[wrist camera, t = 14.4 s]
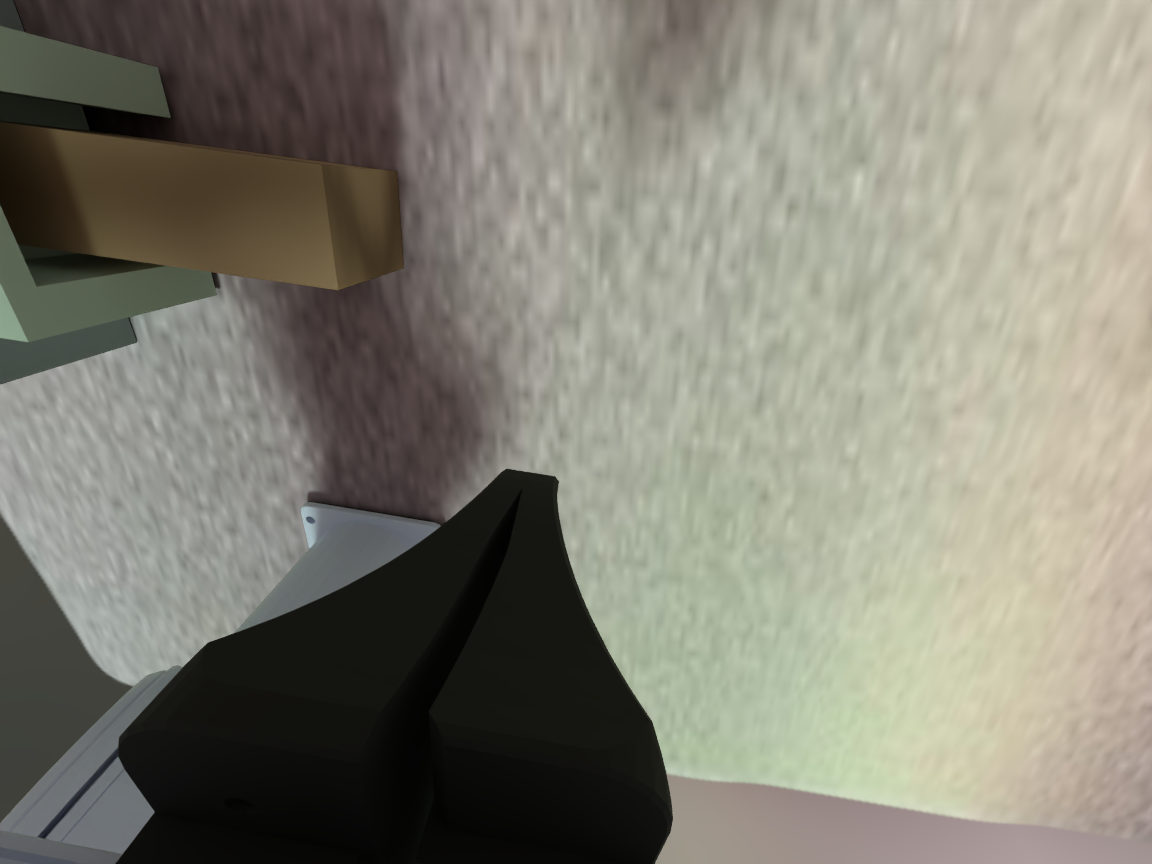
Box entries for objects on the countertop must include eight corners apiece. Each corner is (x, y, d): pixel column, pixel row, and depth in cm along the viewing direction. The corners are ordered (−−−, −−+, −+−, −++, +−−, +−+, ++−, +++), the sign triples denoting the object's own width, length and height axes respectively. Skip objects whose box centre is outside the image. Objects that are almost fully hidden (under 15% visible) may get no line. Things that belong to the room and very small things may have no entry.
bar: (405, 267, 19) (338, 290, 14) (133, 229, 19) (-13, 240, 15) (399, 171, 17) (320, 164, 13) (101, 132, 18) (-73, 112, 13)
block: (216, 295, 20) (28, 342, 14) (109, 278, 20) (-126, 318, 14) (157, 67, 16) (-142, -12, 10) (24, 49, 16) (-353, -40, 10)
